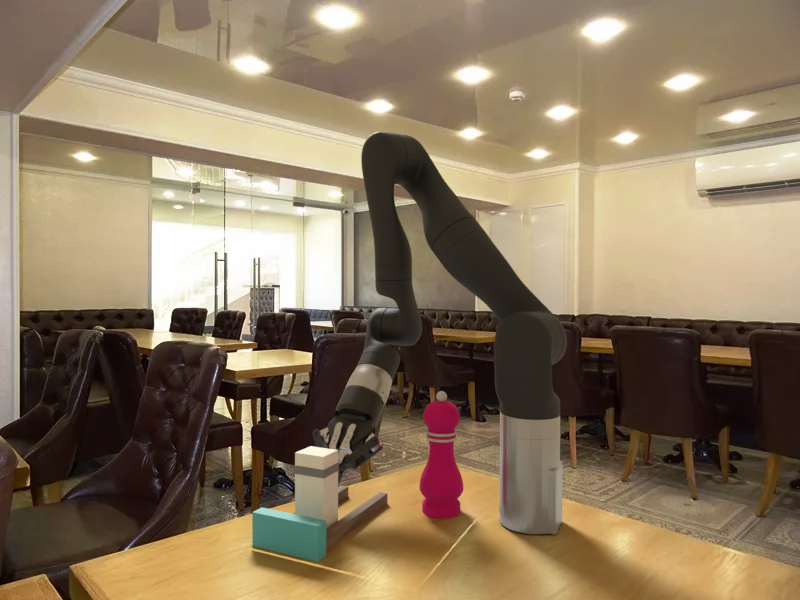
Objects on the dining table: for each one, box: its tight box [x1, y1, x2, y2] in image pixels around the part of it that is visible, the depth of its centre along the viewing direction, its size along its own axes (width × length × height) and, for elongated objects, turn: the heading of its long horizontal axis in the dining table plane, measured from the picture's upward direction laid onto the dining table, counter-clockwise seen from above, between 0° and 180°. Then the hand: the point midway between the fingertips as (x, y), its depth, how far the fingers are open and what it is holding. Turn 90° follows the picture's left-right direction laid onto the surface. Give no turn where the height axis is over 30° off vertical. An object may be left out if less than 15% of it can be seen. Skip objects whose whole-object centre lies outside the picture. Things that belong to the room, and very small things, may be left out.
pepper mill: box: [419, 390, 464, 520], centre depth 92 cm, size 7×7×20 cm
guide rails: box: [292, 485, 388, 551], centre depth 87 cm, size 9×22×2 cm, turn 155°
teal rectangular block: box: [251, 506, 327, 562], centre depth 77 cm, size 11×2×5 cm, turn 65°
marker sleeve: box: [293, 445, 339, 529], centre depth 84 cm, size 5×4×12 cm
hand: (326, 488), depth 86 cm, fingers closed
